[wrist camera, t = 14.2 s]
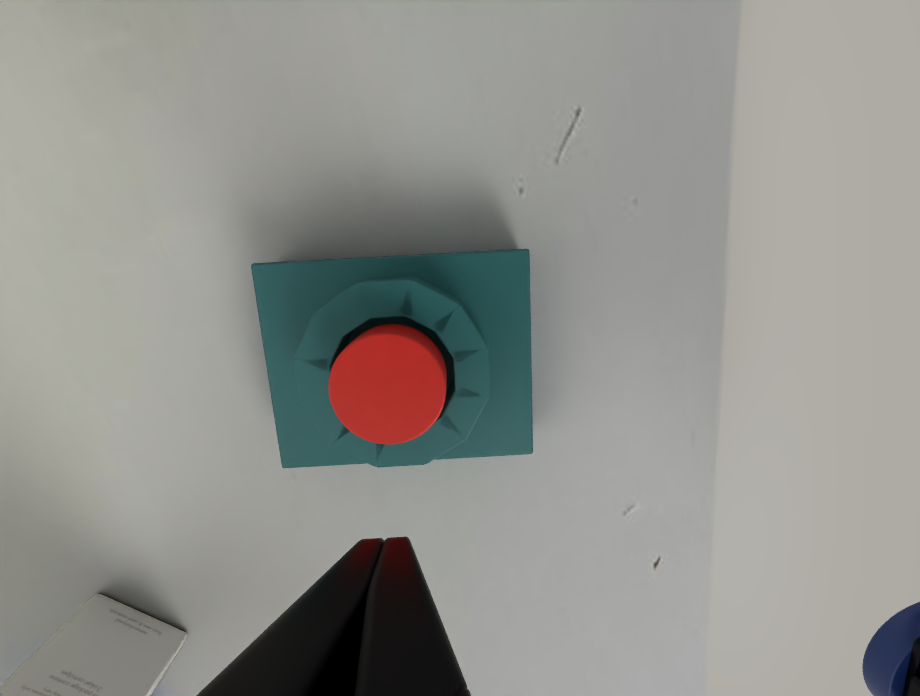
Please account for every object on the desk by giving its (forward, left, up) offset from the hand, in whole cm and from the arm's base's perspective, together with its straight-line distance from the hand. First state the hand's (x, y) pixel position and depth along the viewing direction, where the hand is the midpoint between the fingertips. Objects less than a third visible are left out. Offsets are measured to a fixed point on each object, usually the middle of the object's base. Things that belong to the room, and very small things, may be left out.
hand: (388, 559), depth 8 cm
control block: (+1, -1, -11) cm, 11 cm away
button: (+1, -1, -8) cm, 8 cm away
